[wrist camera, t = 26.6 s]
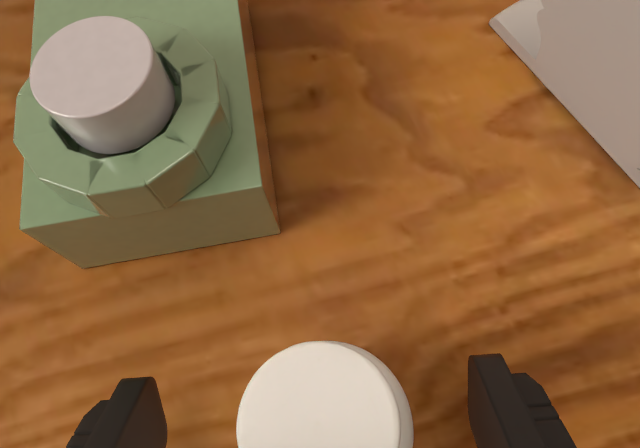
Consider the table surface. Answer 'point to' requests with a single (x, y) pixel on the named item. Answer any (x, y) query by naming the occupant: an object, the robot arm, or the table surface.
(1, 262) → the table surface
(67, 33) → the white push button
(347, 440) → the pill bottle
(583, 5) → the ornament
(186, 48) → the push button box
